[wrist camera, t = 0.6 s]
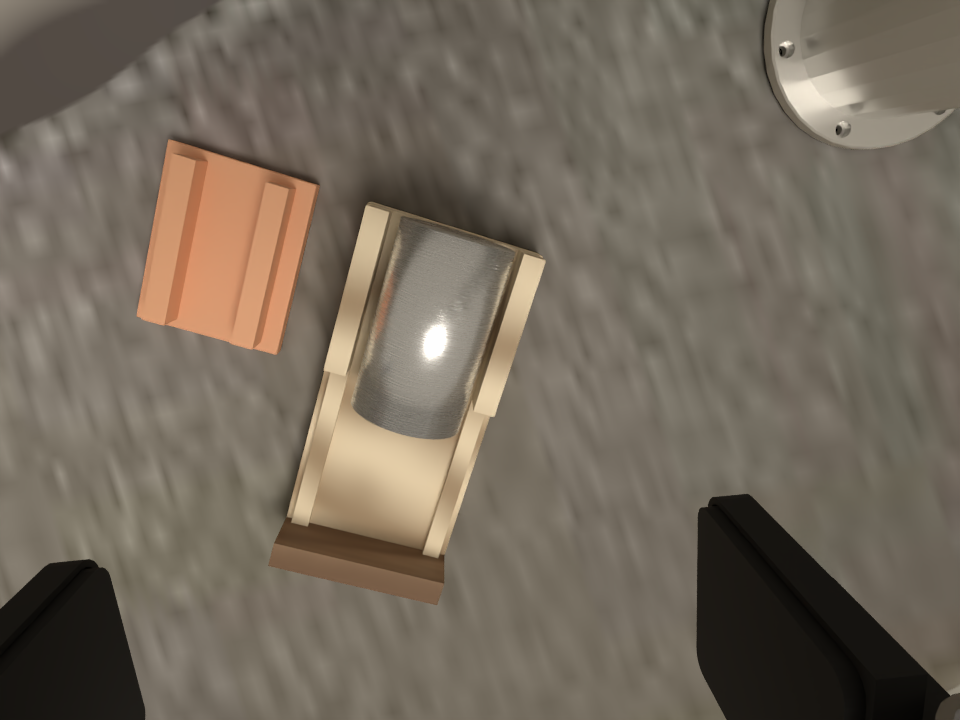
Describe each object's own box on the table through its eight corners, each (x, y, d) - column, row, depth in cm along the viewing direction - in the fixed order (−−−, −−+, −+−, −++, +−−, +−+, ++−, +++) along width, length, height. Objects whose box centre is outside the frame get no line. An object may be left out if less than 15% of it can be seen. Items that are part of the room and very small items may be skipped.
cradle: (176, 140, 35) (153, 137, 33) (319, 185, 36) (309, 185, 34) (144, 313, 38) (121, 322, 35) (280, 350, 39) (268, 363, 36)
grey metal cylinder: (403, 213, 35) (398, 220, 29) (508, 246, 36) (523, 258, 30) (357, 382, 37) (343, 419, 32) (456, 409, 38) (461, 449, 32)
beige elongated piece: (371, 201, 37) (361, 204, 32) (537, 253, 38) (551, 262, 33) (288, 521, 42) (268, 565, 37) (437, 557, 43) (436, 605, 38)
